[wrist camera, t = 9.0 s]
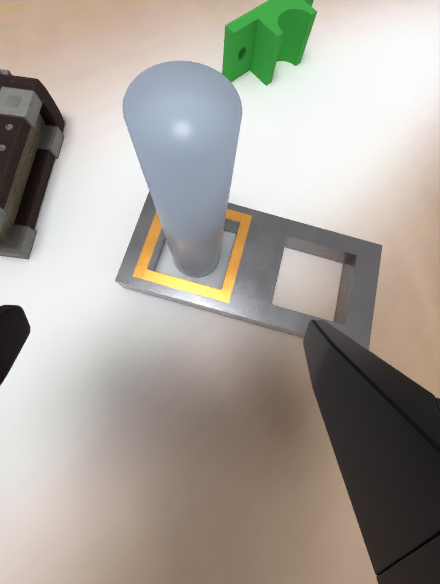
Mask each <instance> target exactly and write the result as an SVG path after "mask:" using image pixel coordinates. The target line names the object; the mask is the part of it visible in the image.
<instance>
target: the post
mask: <svg viewBox="0 0 440 584" xmlns="http://www.w3.org/2000/svg"><path fill="white" fill-rule="evenodd" d="M123 115H124V119H125V122H126V125H127V128H128V131H129V134H130V137H131V139H132V142H133V145H134V148H135V151H136V154H137V157H138V159H139V162H140V165H141V168H142V171H143V174H144V177H145V180H146V182H147V185H148V188H149V191H150V194H151V197H152V200H153V202H154V205H155V208H156V211H157V214H158V217H159V220H160V222H161V225H162V228H163V231H164V234H165V237H166V240H167V242H168V245H169V248H170V251H171V254H172V257H173V260H174V262H175V265H176V267H177V268H178V269H179V271H181V272H182V273H183V274H185V275H187V276H190V277H203V276H206V275H208V274H209V273H211V272H212V271H213V270H214V269H215V268H216V266H217V264H218V261H219V255H220V249H221V242H222V236H223V230H224V224H225V218H226V211H227V205H228V199H229V193H230V186H231V180H232V174H233V168H234V161H235V155H236V149H237V143H238V137H239V130H240V124H241V118H242V105H241V100H240V97H239V95H238V92H237V90H236V89H235V87H234V86H233V84H232V83H231V82H230V81H229V80H228V79H227V78H226V77H225V76H224V75H222V74H221V73H220V72H218V71H216V70H215V69H213V68H211V67H208V66H206V65H203V64H200V63H196V62H191V61H170V62H165V63H161V64H158V65H155V66H153V67H150V68H148V69H147V70H145V71H143V72H142V73H141V74H139V75H138V76H137V77H136V78H135V79H134V80H133V81H132V82H131V84H130V85H129V87H128V89H127V91H126V93H125V96H124V100H123Z"/></svg>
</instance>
